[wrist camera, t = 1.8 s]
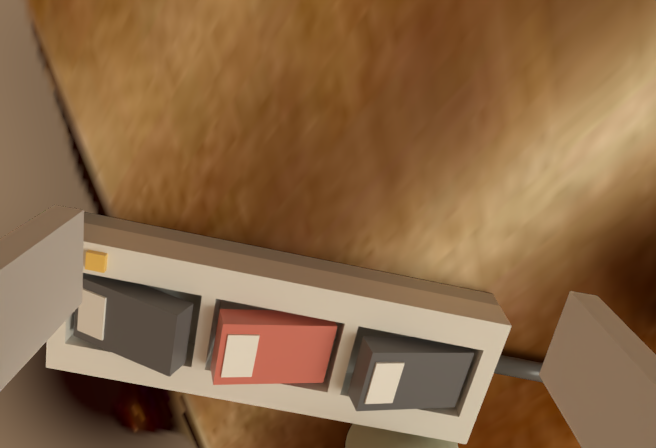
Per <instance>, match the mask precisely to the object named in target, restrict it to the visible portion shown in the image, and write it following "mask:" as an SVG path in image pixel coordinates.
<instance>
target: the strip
mask: <svg viewBox="0 0 656 448" xmlns="http://www.w3.org/2000/svg"><path fill="white" fill-rule="evenodd" d="M83 273H87V274H92V275H97V276H102V277H107V278H113V279H118V280H123V281H128V282H133V283H138V284H143V285H146V286H149V287H151V288H154V289H156V290H159V291H162V292H164V293H167V294H170V295H172V296H175V297H177V298H180V299H183V300H185V301H188V302H190V303H193V311H192V318H191V325H190V332H189V339H188V346H187V353H186V360H185V363H184V364H183V365H182V366H181V367H180V368H179V369H178V370H177V371H175V372H174V373H173V374H172V375H171V376H170V377H169V376H166V375H164V374H162V373H159V372H157V371H155V370H152V369H150V368H147V367H145V366H143V365H140V364H138V363H136V362H133V361H131V360H129V359H126V358H124V357H122V356H119V355H117V354H115V353H112V352H110V351H108V350H105V349H103V348H101V347H98V346H96V345H93V344H91V343H89V342H86V341H84V340H82V339H79V338H77V337H75V336H73V334H74V316H75V311H74V312H73V313H72V314H71V315H70V316H69V317H68V319H67V320H66V321H65V322H64V323H63V324H62V325H61V326H60V327H59V328H58V329H57V330H56V332H55V333H54V334H53V335H52V336H51V337H50V338H49V339H48V340H47V351H46V367H47V368H52V369H58V370H64V371H69V372H75V373H80V374H85V375H91V376H97V377H102V378H107V379H113V380H118V381H124V382H129V383H134V384H140V385H145V386H151V387H156V388H162V389H167V390H173V391H178V392H184V393H189V394H195V395H200V396H206V397H211V398H216V399H222V400H227V401H233V402H238V403H244V404H249V405H255V406H260V407H266V408H271V409H277V410H282V411H287V412H293V413H298V414H304V415H309V416H315V417H320V418H326V419H331V420H337V421H342V422H348V423H353V424H359V425H364V426H369V427H375V428H380V429H386V430H391V431H397V432H402V433H408V434H413V435H419V436H424V437H430V438H435V439H441V440H446V441H451V442H457V443H462V444H467V441H468V439H469V436H470V433H471V431H472V428H473V426H474V423H475V420H476V418H477V415H478V412H479V410H480V407H481V405H482V402H483V399H484V397H485V394H486V392H487V389H488V386H489V384H490V381H491V379H492V376H493V373H497V374H502V375H507V376H512V377H517V378H523V379H528V380H533V381H538V382H543V381H542V379H541V378H540V376H539V373H540V370H541V368H542V365H543V363H540V362H535V361H530V360H525V359H519V358H514V357H509V356H504V355H501V352H502V350H503V347H504V345H505V342H506V339H507V337H508V334H509V331H510V329H511V324H510V322H509V321H508V319H507V317H506V316H505V314H504V312H503V310H502V309H501V307H500V305H499V304H498V302H497V300H496V299H495V297H494V295H493V294H491V293H486V292H481V291H476V290H471V289H466V288H461V287H456V286H451V285H446V284H441V283H436V282H431V281H426V280H421V279H416V278H411V277H406V276H401V275H396V274H391V273H386V272H382V271H377V270H372V269H367V268H362V267H357V266H352V265H347V264H342V263H337V262H332V261H327V260H322V259H317V258H312V257H307V256H302V255H297V254H292V253H287V252H282V251H277V250H272V249H267V248H262V247H257V246H252V245H247V244H242V243H237V242H232V241H227V240H222V239H217V238H212V237H207V236H202V235H197V234H192V233H187V232H182V231H177V230H172V229H167V228H162V227H158V226H153V225H148V224H143V223H138V222H133V221H128V220H123V219H118V218H113V217H108V216H103V215H98V214H93V213H88V212H84V240H83ZM220 309H244V310H277V311H283V312H288V313H293V314H298V315H303V316H308V317H313V318H319V319H324V320H329V321H334V322H335V323H336V325H337V330H336V334H335V338H334V342H333V346H332V350H331V354H330V358H329V362H328V366H327V370H326V374H325V378H324V382H323V383H282V384H233V385H213V381H212V375H211V368H210V367H211V361H212V354H213V348H214V342H215V336H216V330H217V323H218V317H219V311H220ZM363 336H370V337H417V338H422V339H427V340H432V341H437V342H442V343H447V344H453V345H458V346H463V347H468V348H471V350H472V351H473V352H474V356H473V358H472V361H471V364H470V367H469V369H468V372H467V375H466V378H465V380H464V383H463V386H462V389H461V391H460V394H459V397H458V400H457V402H456V405H455V407H449V408H425V409H400V410H376V411H356V410H355V408H354V406H353V404H352V401H351V399H350V397H349V395H348V389H349V386H350V382H351V378H352V375H353V371H354V367H355V364H356V360H357V356H358V353H359V349H360V345H361V342H362V338H363Z"/></svg>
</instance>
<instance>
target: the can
mask: <svg viewBox="0 0 656 448" xmlns="http://www.w3.org/2000/svg"><path fill="white" fill-rule="evenodd" d="M345 448H458V443H457V442H451V441H446V440H441V439H435V438H430V437H424V436H419V435H413V434H408V433H402V432H397V431H391V430H386V429H380V428H375V427H369V426H364V425H359V424H352V426H351V427H350V429H349V431H348V434H347V437H346V443H345Z"/></svg>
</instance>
